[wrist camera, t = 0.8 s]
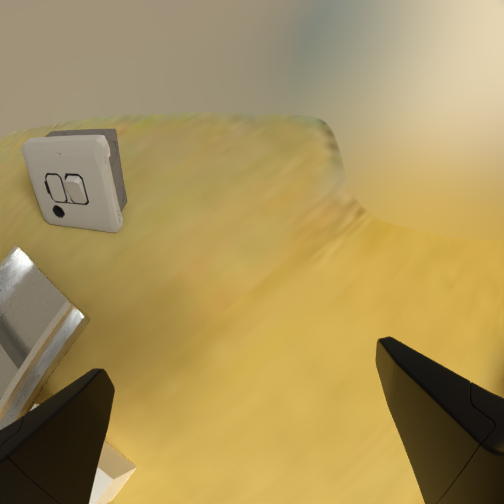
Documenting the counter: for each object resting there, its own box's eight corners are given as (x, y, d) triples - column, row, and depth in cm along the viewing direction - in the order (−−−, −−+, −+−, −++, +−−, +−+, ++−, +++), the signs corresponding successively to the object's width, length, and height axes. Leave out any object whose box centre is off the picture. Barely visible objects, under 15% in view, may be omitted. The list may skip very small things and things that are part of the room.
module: (113, 499, 15) (84, 517, 10) (48, 440, 16) (9, 441, 12) (137, 466, 17) (111, 480, 12) (69, 407, 18) (32, 403, 14)
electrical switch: (46, 225, 26) (8, 156, 18) (68, 189, 29) (40, 120, 21) (122, 236, 26) (92, 155, 18) (141, 195, 29) (122, 115, 21)
